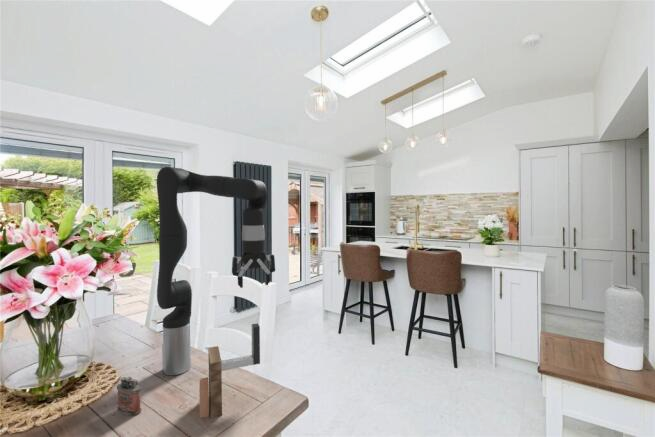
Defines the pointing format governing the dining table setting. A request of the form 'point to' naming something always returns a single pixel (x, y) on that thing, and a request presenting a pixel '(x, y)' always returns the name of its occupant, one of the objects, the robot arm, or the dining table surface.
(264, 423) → the dining table surface
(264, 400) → the dining table surface
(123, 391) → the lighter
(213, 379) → the block
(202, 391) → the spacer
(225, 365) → the l-shaped bracket
